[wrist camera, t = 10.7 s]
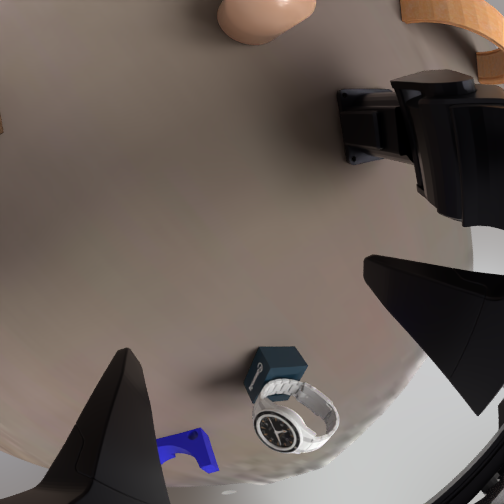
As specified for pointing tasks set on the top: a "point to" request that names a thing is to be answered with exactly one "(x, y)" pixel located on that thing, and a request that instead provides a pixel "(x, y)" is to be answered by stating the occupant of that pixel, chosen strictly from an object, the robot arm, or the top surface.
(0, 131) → the walnut cube
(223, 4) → the terracotta cylinder
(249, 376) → the watch
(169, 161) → the top surface
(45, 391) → the top surface
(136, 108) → the top surface
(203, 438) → the cable clip
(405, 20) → the arch
